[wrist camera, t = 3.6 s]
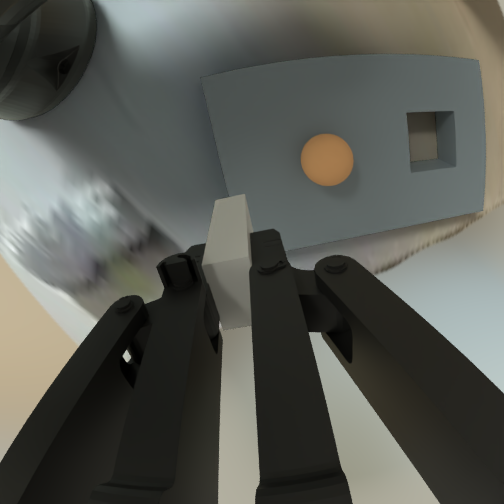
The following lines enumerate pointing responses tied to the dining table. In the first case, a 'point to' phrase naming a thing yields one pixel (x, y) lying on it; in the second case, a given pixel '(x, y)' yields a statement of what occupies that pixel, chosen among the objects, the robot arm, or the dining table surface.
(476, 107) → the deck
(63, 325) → the dining table surface
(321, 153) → the ball
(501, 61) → the dining table surface
